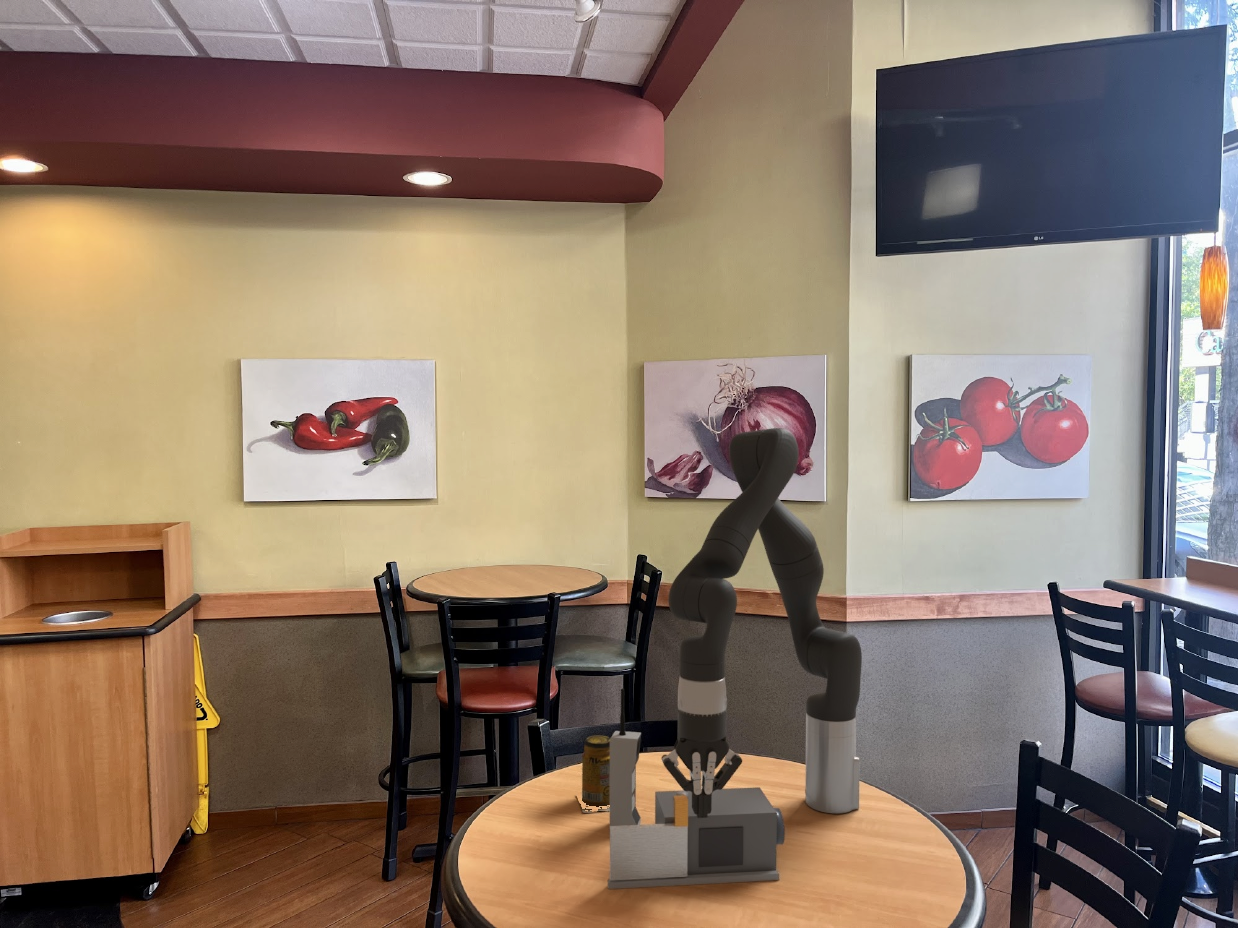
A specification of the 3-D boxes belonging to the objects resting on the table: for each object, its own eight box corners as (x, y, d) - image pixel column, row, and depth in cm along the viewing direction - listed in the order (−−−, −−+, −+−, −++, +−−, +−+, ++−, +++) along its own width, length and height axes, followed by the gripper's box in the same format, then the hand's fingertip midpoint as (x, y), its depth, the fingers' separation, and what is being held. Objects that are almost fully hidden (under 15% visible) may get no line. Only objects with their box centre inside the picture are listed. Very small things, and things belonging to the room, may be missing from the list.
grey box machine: (770, 844, 145) (771, 782, 145) (791, 879, 133) (792, 811, 133) (601, 852, 142) (602, 788, 142) (608, 888, 130) (608, 819, 130)
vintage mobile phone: (637, 833, 149) (637, 692, 148) (609, 830, 150) (609, 690, 149) (640, 824, 153) (641, 686, 152) (613, 821, 154) (614, 684, 153)
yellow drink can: (611, 792, 167) (612, 732, 166) (621, 810, 158) (621, 746, 158) (575, 795, 165) (575, 734, 165) (582, 814, 157) (583, 749, 157)
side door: (685, 872, 133) (686, 795, 133) (687, 877, 131) (688, 799, 131) (609, 876, 132) (609, 798, 131) (610, 881, 130) (610, 802, 130)
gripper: (737, 696, 136) (737, 803, 136) (656, 699, 135) (655, 807, 135) (750, 711, 129) (749, 824, 129) (663, 713, 127) (663, 828, 128)
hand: (701, 815), depth 132 cm, fingers closed
